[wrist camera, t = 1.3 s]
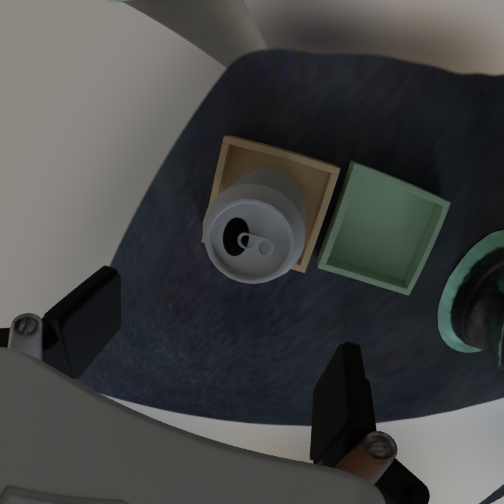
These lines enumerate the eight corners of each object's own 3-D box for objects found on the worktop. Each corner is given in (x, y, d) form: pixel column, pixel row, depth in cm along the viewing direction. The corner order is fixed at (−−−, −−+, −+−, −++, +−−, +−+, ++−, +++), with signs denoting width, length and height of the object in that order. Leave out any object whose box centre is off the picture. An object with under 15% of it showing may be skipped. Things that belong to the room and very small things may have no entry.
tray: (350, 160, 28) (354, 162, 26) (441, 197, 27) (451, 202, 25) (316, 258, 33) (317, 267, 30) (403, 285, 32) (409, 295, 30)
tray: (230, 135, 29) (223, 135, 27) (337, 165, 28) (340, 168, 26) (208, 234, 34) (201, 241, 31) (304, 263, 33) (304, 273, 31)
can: (240, 159, 29) (202, 177, 18) (312, 175, 29) (318, 204, 18) (228, 226, 32) (189, 278, 21) (295, 243, 32) (289, 304, 21)
